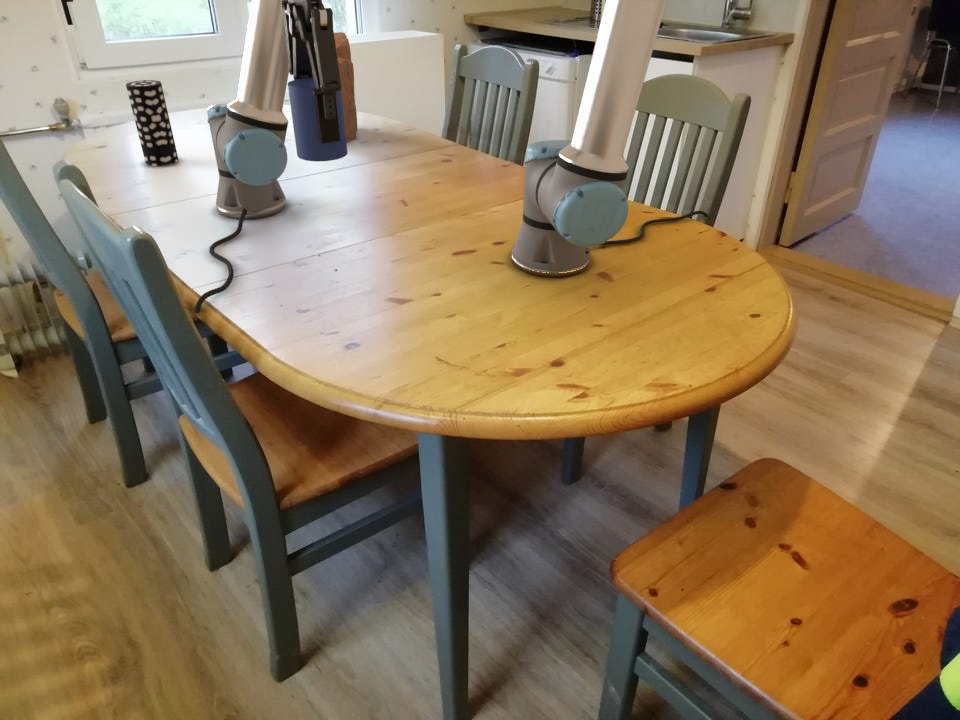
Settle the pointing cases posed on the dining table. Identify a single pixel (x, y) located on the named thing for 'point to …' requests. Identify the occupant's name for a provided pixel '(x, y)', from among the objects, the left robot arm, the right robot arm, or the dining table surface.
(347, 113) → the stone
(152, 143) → the black white spotted cylinder
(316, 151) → the can
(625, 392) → the dining table surface
